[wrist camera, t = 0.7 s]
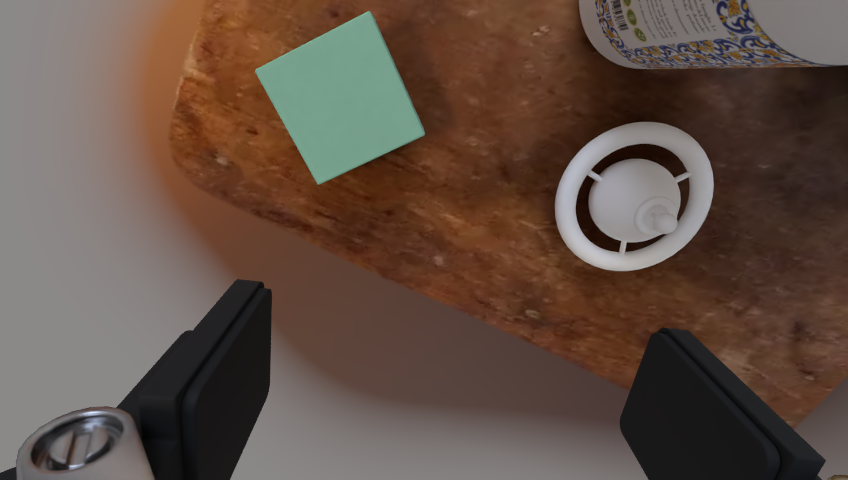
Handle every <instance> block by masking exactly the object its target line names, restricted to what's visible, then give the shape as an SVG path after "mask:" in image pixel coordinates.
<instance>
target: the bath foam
mask: <svg viewBox="0 0 848 480" xmlns="http://www.w3.org/2000/svg"><path fill="white" fill-rule="evenodd" d="M579 11H580V17H581V21H582V25H583V28H584V30H585V33H586V35H587V37H588V39H589V40H590V42H591V43H592V45H593V46H594V47H595V48H596V50H597V51H598V52H599V53H600V54H602V55H603V56H604V57H605V58H607V59H608V60H610V61H612V62H614V63H616V64H618V65H621V66H624V67H628V68H634V69H706V68H770V67H834V66H848V0H579Z"/></svg>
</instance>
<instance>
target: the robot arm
mask: <svg viewBox="0 0 848 480" xmlns="http://www.w3.org/2000/svg"><path fill="white" fill-rule="evenodd" d="M271 308H272V292H271V289H266V288H264V284H263V282H258V281H249V280H240V279H237V280H236V281H235V282H234V283H233V284H232V285H231V286H230V288H229V289H228V290H227V291H226V292H225V293H224V295H223V296H222V297H221V298H220V300H218V302H217V303H216V304H215V305H214V306H213V308H212V309H211V310H210V311H209V312H208V313H207V315H206V316H205V317H204V318H203V319H202V320H201V322H200V323H199V324H198V325H197V326H196V327H195V329H194V330H193V331H190V330H189V331H185V332H184V333H183V334H181V335H180V337H179V338H178V339H177V340H176V341H175V342H174V343H173V344H172V346H171V347H170V348H169V349H168V350H167V351H166V352H165V354H164V355H163V356H162V357H161V358H160V359H159V360H158V361H157V363H156V364H155V365H154V366H153V367H152V368H151V370H149V371H148V373H147V374H146V375H145V376H144V377H143V378H142V379H141V380H140V382H139V383H138V384H137V385H136V386H135V387H134V388H133V389H132V391H131V392H130V393H129V394H128V395H127V396H126V397H125V399H124V400H123V401H122V402H121V403H120V404H119V405H118V406H117V407H116V408H112V407H107V406H105V407H90V408H85V409H81V410H77V411H73V412H70V413H68V414H65V415H62V416H60V417H57V418H55V419H54V420H52V421H50V422H48V423H47V424H45V425H43V426H41V427H40V428H39V429H37V430H36V431H35V432H34V433H33V434H31V435H30V436H29V437H28V438H27V439H26V440H25V442H24V443H23V445H22V446H21V447H20V449H19V451H18V455H17V460H16V467H14V468H12V469H9V470H6V471H4V472H1V473H0V480H230V478H231V476H232V473H233V471H234V469H235V467H236V465H237V463H238V460H239V458H240V456H241V454H242V452H243V449H244V447H245V445H246V443H247V440H248V438H249V436H250V433H251V431H252V429H253V427H254V425H255V423H256V421H257V418H258V416H259V414H260V411H261V410H262V407H263V405H264V403H265V401H266V398H267V395H268V392H269V386H270V354H271ZM620 428H621V432H622V434H623V436H624V437H625V439H626V441H627V443H628V444H629V446H630V448H631V450H632V451H633V453H634V455H635V457H636V458H637V460H638V462H639V464H640V465H641V467H642V469H643V470H644V472H645V474H646V476H647V477H648V479H649V480H822V479H821V478H820V477H819V476H818V473H819V471H820V470H821V468H822V466H823V465H824V463H825V461H826V460H825V459H824V458H823V457H822V456H821V455H819V454H818V453H817V452H816V451H815V450H814V449H813V448H812V447H811V446H810V445H809V444H808V443H807V442H806V441H805V440H804V439H803V438H801V437H800V436H799V435H798V434H797V433H796V432H795V431H794V430H793V429H792V428H791V427H790V426H789V425H788V424H787V423H786V422H785V421H784V420H782V419H781V418H780V417H779V416H778V415H777V414H776V413H775V412H774V411H773V410H772V409H771V408H770V407H769V406H768V405H767V404H766V403H764V402H763V401H762V400H761V399H760V398H759V397H758V396H757V395H756V394H755V393H754V392H753V391H752V390H751V389H750V388H749V387H747V386H746V385H745V384H744V383H743V382H742V381H741V380H740V379H739V378H738V377H737V376H736V375H735V374H734V373H733V372H732V371H731V370H729V369H728V368H727V367H726V366H725V365H724V364H723V363H722V362H721V361H720V360H719V359H718V358H717V357H716V356H715V355H714V354H713V353H711V352H710V351H709V350H708V349H707V348H706V347H705V346H704V345H703V344H702V343H701V342H700V341H699V340H698V339H697V338H696V337H695V336H693V335H692V334H691V333H690V332H689V331H687V330H679V329H670V328H661V329H660V330H659V331H658V332H657V333H653V334H652V335H651V337H650V339H649V342H648V344H647V347H646V350H645V352H644V355H643V358H642V361H641V363H640V366H639V369H638V371H637V374H636V377H635V379H634V382H633V385H632V388H631V390H630V393H629V396H628V399H627V401H626V404H625V406H624V409H623V412H622V415H621V418H620ZM828 480H848V476H846V475H834V476H832V477H830V478H829V479H828Z"/></svg>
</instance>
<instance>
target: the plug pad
mask: <svg viewBox="0 0 848 480" xmlns="http://www.w3.org/2000/svg"><path fill="white" fill-rule="evenodd" d="M255 73H256V74H257V76H258V78H259V80H260V82H261V83H262V85H263V87H264V89H265V91H266V92H267V94H268V96H269V98H270V100H271V101H272V103H273V105H274V107H275V109H276V110H277V112H278V114H279V116H280V118H281V119H282V121H283V123H284V125H285V127H286V128H287V130H288V132H289V134H290V136H291V137H292V139H293V141H294V143H295V145H296V147H297V148H298V150H299V152H300V154H301V156H302V157H303V159H304V161H305V163H306V165H307V166H308V168H309V170H310V172H311V174H312V175H313V177H314V179H315V181H316V183H317V184H318V185H320V184H322V183H324V182H326V181H328V180H330V179H333V178H335V177H337V176H339V175H341V174H343V173H345V172H348V171H350V170H352V169H354V168H356V167H358V166H360V165H363V164H365V163H367V162H369V161H371V160H373V159H375V158H377V157H380V156H382V155H384V154H386V153H388V152H390V151H392V150H395V149H397V148H399V147H401V146H403V145H405V144H407V143H410V142H412V141H414V140H416V139H418V138H420V137H422V136H424V135H425V132H424V128H423V126H422V124H421V121H420V119H419V117H418V115H417V112H416V110H415V108H414V106H413V104H412V101H411V99H410V97H409V95H408V92H407V90H406V88H405V86H404V83H403V81H402V79H401V77H400V74H399V72H398V70H397V68H396V65H395V63H394V61H393V59H392V57H391V54H390V52H389V50H388V48H387V45H386V43H385V41H384V39H383V36H382V34H381V32H380V30H379V27H378V25H377V23H376V21H375V18H374V16H373V15H372V14H371V12H370V11H368V12H366V13H364V14H362V15H360V16H358V17H356V18H354V19H352V20H350V21H348V22H347V23H345V24H343V25H341V26H339V27H337V28H335V29H333V30H331V31H329V32H327V33H325V34H323V35H321V36H319V37H318V38H316V39H314V40H312V41H310V42H308V43H306V44H304V45H302V46H300V47H298V48H296V49H294V50H292V51H291V52H289V53H287V54H285V55H283V56H281V57H279V58H277V59H275V60H273V61H271V62H269V63H267V64H265V65H263V66H262V67H260V68H258V69H256V70H255Z"/></svg>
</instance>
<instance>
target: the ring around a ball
mask: <svg viewBox="0 0 848 480" xmlns="http://www.w3.org/2000/svg"><path fill="white" fill-rule="evenodd" d="M635 144H653V145H658V146H661V147H664V148H666V149H668V150H670V151H671V152H673V153H674V154H675V155H676V156H677V157H678V158H679V159H680V160H681V161H682V163H683V164H684V166H685V168H686V170H687V172H685V173H683V174H681V175H679V176H677V177H675V178H674V177H673V176H672V174H671V173H670V172H669V171H668V170H667V169H665V168H664V167H663V166H661V165H659V164H657V163H655V162H652V161H649V160H645V159H627V160H623V161H619V162H617V163H615V164H613V165H611V166H609V167H608V168H606V169H605V170H604V171H602V172H601V173H600V174H599V175H598V174H596V173H595V172H593V171H592V170H591V169H592V168H593V167H594V166H595V165H596V164H597V163H598V162H599V161H600V160H601V159H603V158H604V157H605V156H607V155H609V154H610V153H612V152H614V151H616V150H618V149H620V148H623V147H626V146H629V145H635ZM587 175H588V176H590V177H591V178H593V179H594V180H595V181H594V183H593V185H592V187H591V189H590V193H589V199H588V206H589V211H590V215H591V217H592V219H593V221H594V223H595V224H596V226H597V227H598V228H599V229H600V230H601V231H602V232H604V233H605V234H606V235H608V236H610V237H612V238H613V239H616V240H619V241H621V245H620V250H619V252H614V251H608V250H605V249H602V248H600V247H598V246H596V245H594V244H593V243H592V242H590V241H589V240H588V239H587V238H586V237H585V236H584V234H583V233H582V231H581V229H580V227H579V225H578V222H577V217H576V200H577V195H578V192H579V189H580V187H581V185H582V182H583V180H584V179H585V177H586V176H587ZM688 177H689V184H690V190H689V198H688V202H687V205H686V208H685V210H684V212H683V214H682V216H681V218H680V219H679V221H678V222H677V214H678V211H679V208H680V201H681V197H680V190H679V187H678V184H677V183H678V182H680V181H682V180H684V179H686V178H688ZM713 187H714V182H713V172H712V168H711V165H710V161H709V159H708V157H707V155H706V153H705V152H704V150H703V149H702V148H701V146H700V145H699V144H698V142H697V141H695V140H694V139H693V138H692V137H691V136H690V135H689V134H687V133H685V132H683V131H682V130H680V129H678V128H676V127H673V126H670V125H667V124H663V123H657V122H636V123H630V124H625V125H622V126H619V127H616V128H613V129H611V130H609V131H607V132H605V133H603V134H601V135H599V136H598V137H596V138H595V139H593V140H592V141H590V142H589V143H588V144H587V145H586V146H584V147H583V148H582V149H581V150H580V151H579V152H578V153H577V154H576V156H575V157H574V158H573V159H572V160H571V162H570V163H569V165H568V166H567V168H566V170H565V171H564V173H563V176H562V178H561V180H560V182H559V185H558V189H557V193H556V199H555V218H556V223H557V227H558V230H559V232H560V234H561V237H562V239H563V240H564V242H565V243H566V245H567V246H568V248H569V249H570V250H571V251H572V252H573V253H574V254H575V255H576V256H578V257H579V258H580V259H582V260H583V261H585V262H587V263H589V264H591V265H593V266H595V267H599V268H602V269H605V270H612V271H631V270H638V269H642V268H646V267H649V266H652V265H655V264H657V263H659V262H662V261H664V260H665V259H667V258H669V257H671V256H672V255H674V254H675V253H676V252H678V251H679V250H680V249H682V248H683V247H684V246H685V245H686V244H687V243H688V242H689V241H690V240H691V239H692V238H693V236H694V235H695V234H696V233H697V231H698V230H699V229H700V227H701V225H702V224H703V222H704V220H705V218H706V216H707V214H708V211H709V209H710V205H711V201H712V197H713ZM662 234H666V235H665V236H664V237H662V238H661V239H660V240H658V241H657V242H655V243H653V244H652V245H649V246H647V247H645V248H642V249H639V250H635V251H629V252H625V249H626V244H627V242H642V241H646V240H650V239H652V238H655V237H657V236H659V235H662Z"/></svg>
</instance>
